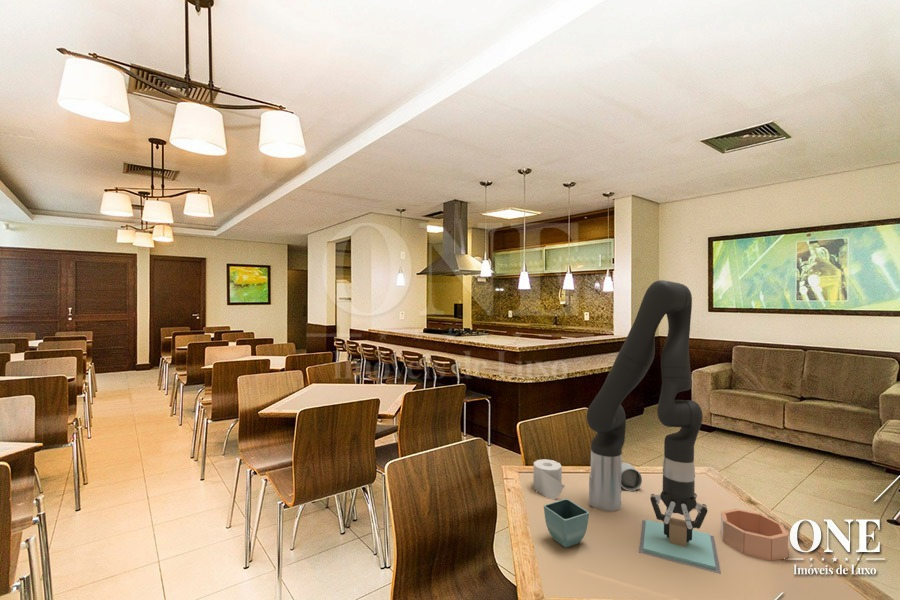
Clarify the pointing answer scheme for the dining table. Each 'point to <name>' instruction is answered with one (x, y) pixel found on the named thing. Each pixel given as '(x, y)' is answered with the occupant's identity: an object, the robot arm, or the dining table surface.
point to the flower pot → (566, 522)
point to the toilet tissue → (547, 478)
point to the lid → (679, 543)
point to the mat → (677, 560)
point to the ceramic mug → (630, 477)
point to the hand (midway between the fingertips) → (677, 538)
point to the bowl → (754, 534)
